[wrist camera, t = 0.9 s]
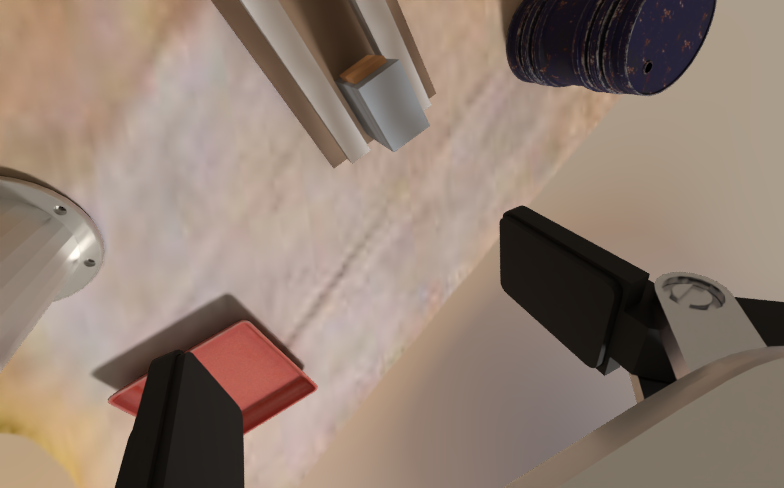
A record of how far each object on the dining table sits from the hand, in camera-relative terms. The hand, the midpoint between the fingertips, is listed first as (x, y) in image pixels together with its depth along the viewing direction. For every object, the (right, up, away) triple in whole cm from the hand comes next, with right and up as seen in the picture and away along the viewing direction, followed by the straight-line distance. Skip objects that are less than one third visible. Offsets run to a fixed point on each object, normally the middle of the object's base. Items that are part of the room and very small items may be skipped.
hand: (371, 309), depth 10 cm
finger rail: (-5, +22, +21) cm, 31 cm away
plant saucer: (-22, -16, +37) cm, 46 cm away
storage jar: (+18, +27, +30) cm, 44 cm away
